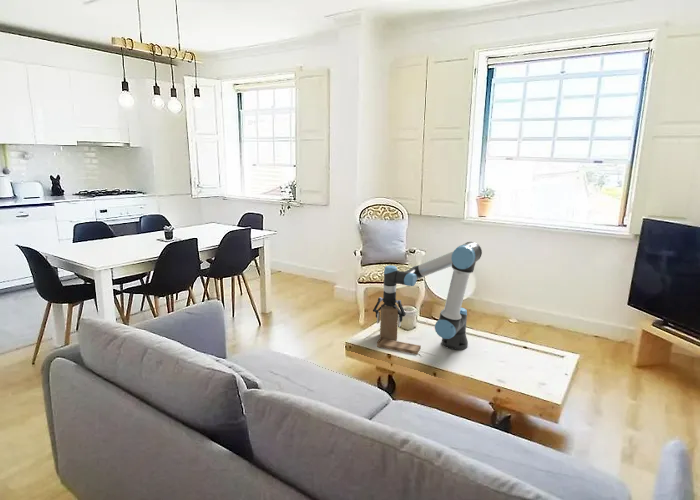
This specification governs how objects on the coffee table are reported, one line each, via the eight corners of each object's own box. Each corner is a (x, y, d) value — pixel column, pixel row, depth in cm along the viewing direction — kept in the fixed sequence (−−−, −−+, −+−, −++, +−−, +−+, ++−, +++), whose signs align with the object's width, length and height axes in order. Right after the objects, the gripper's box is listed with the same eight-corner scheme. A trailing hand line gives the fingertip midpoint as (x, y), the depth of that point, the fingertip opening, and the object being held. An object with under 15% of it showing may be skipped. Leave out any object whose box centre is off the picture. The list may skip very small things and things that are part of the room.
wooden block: (396, 341, 266) (398, 310, 261) (380, 340, 266) (381, 309, 261) (396, 334, 275) (397, 304, 271) (380, 333, 276) (380, 303, 271)
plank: (420, 348, 256) (420, 344, 255) (417, 354, 249) (417, 349, 248) (381, 341, 265) (381, 336, 264) (376, 346, 258) (377, 342, 257)
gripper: (411, 292, 262) (410, 325, 267) (372, 286, 272) (371, 319, 277) (408, 296, 256) (406, 330, 261) (368, 290, 265) (367, 323, 270)
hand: (388, 324), depth 269 cm, fingers open, 13 cm apart
